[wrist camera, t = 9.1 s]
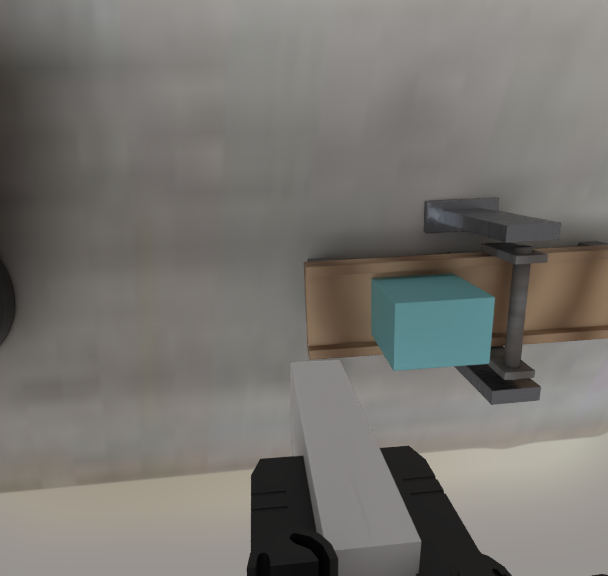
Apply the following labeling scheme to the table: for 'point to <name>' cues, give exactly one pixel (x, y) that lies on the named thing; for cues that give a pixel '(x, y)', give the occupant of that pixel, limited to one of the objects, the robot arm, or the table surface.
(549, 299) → the beam
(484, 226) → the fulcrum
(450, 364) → the block
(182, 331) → the table surface
